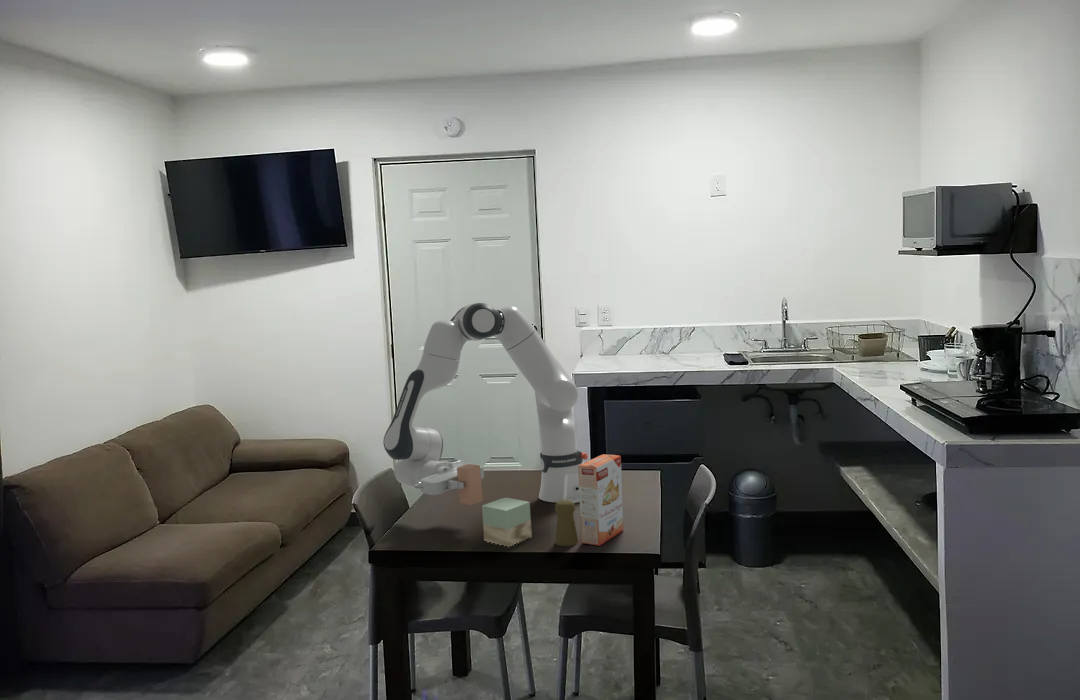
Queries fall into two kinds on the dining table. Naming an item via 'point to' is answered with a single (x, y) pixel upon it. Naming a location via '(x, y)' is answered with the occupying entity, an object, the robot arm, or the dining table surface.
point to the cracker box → (600, 499)
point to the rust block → (470, 484)
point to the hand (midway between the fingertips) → (472, 482)
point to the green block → (506, 513)
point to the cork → (565, 524)
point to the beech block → (507, 534)
